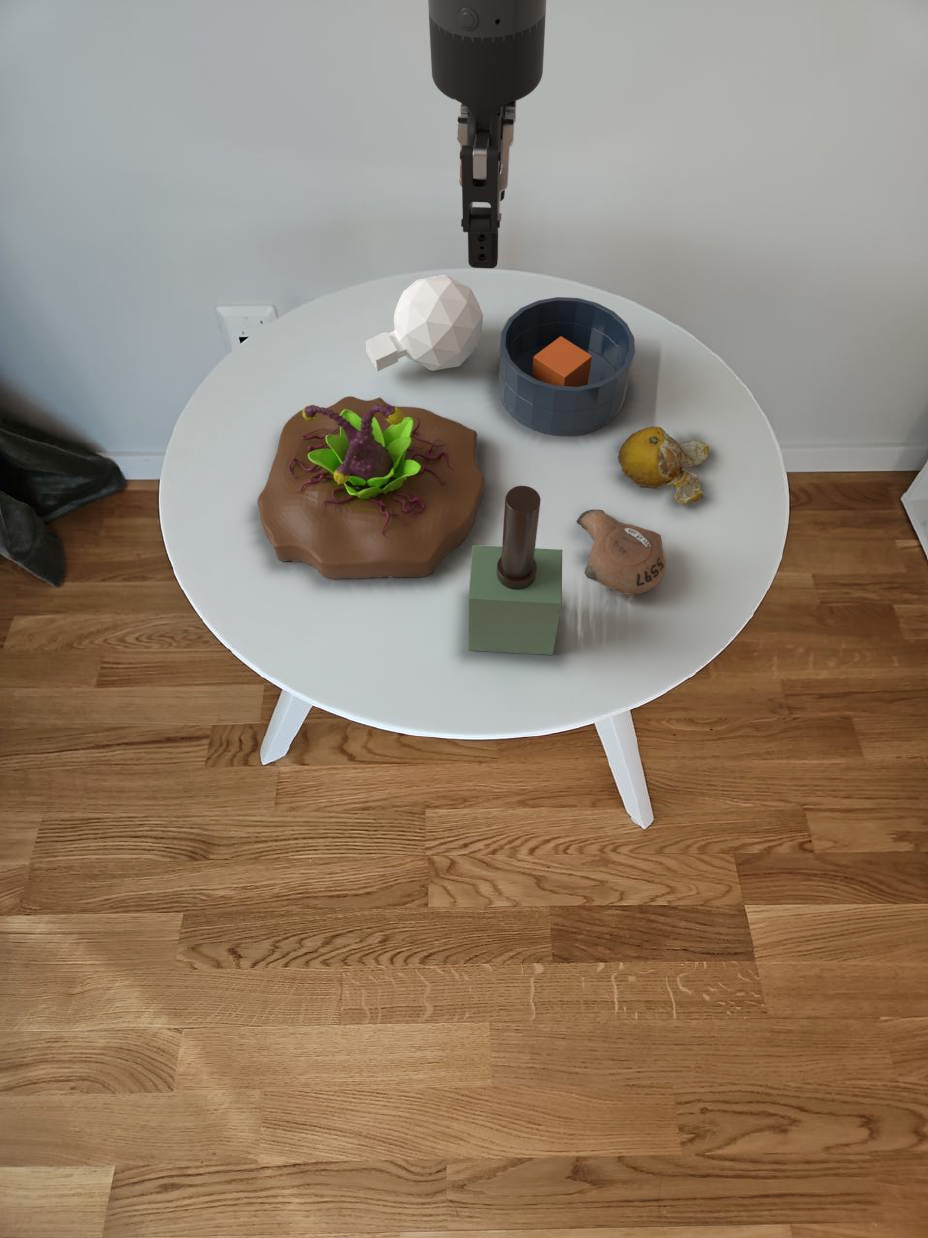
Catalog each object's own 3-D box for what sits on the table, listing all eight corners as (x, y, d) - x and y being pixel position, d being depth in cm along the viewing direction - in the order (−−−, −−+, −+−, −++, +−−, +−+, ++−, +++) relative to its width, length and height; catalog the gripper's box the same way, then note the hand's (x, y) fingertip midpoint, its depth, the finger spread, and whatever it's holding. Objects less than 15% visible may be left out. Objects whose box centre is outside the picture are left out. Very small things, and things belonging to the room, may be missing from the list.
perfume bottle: (456, 294, 94) (354, 342, 93) (459, 240, 85) (346, 293, 84) (496, 361, 93) (393, 412, 91) (504, 314, 84) (390, 369, 82)
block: (557, 366, 91) (560, 335, 87) (587, 386, 89) (592, 355, 86) (530, 387, 89) (533, 356, 86) (561, 408, 88) (565, 377, 84)
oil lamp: (664, 533, 82) (576, 521, 82) (672, 501, 78) (581, 489, 79) (660, 608, 76) (565, 594, 77) (669, 576, 73) (570, 563, 74)
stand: (553, 604, 77) (562, 549, 70) (552, 655, 74) (562, 603, 67) (471, 599, 77) (472, 544, 70) (468, 650, 74) (468, 598, 67)
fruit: (701, 511, 82) (710, 485, 79) (610, 495, 83) (616, 468, 80) (709, 444, 86) (718, 417, 83) (622, 429, 87) (628, 402, 84)
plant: (461, 599, 77) (461, 518, 67) (241, 567, 79) (210, 483, 69) (497, 427, 87) (501, 336, 78) (301, 402, 89) (281, 310, 79)
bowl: (623, 347, 93) (632, 299, 88) (626, 439, 86) (637, 393, 81) (501, 342, 93) (503, 294, 88) (495, 432, 87) (497, 386, 82)
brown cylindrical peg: (536, 558, 69) (545, 482, 62) (535, 590, 68) (544, 517, 60) (497, 556, 69) (501, 480, 62) (495, 588, 68) (499, 515, 60)
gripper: (541, 61, 53) (530, 291, 67) (550, -48, 61) (538, 179, 75) (415, 59, 54) (430, 287, 68) (439, -50, 61) (448, 176, 75)
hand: (487, 230), depth 71 cm, fingers open, 8 cm apart
